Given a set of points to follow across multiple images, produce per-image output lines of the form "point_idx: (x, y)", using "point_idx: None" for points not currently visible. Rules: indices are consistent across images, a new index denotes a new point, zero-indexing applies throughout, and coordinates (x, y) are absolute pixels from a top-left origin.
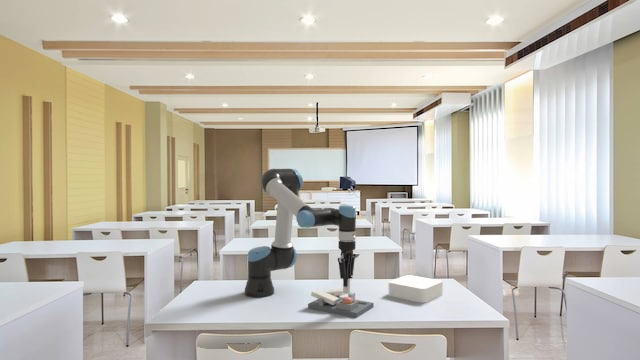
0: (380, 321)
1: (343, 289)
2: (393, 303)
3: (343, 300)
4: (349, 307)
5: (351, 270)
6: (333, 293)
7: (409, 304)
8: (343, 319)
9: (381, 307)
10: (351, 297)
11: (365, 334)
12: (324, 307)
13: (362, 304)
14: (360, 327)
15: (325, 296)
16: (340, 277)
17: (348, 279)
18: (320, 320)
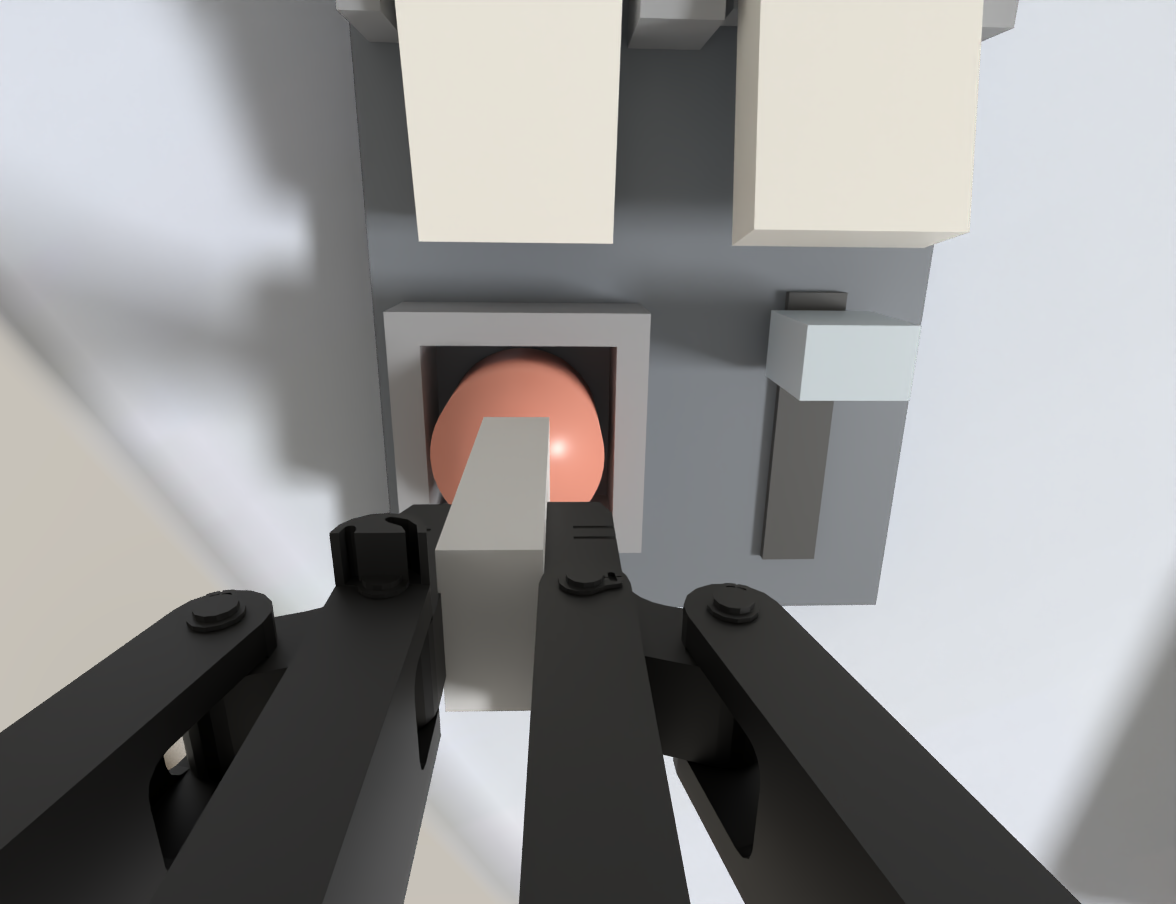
0: (450, 801)
1: (476, 446)
2: (1068, 696)
3: (437, 425)
4: None
5: (740, 872)
6: (749, 27)
7: (1084, 824)
8: (265, 487)
9: (876, 650)
10: (784, 377)
11: None
12: (358, 98)
13: (745, 524)
14: None
15: (439, 9)
16: (174, 612)
17: (448, 705)
18: (38, 263)
